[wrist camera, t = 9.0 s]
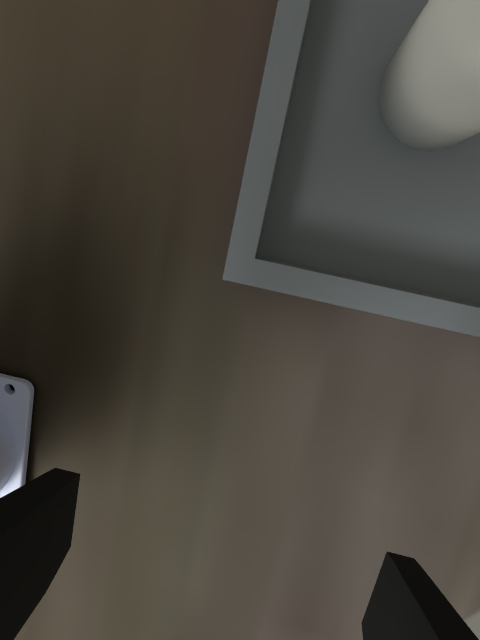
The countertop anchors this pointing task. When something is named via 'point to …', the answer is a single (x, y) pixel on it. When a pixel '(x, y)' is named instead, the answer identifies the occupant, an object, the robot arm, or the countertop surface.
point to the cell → (435, 78)
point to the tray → (353, 178)
